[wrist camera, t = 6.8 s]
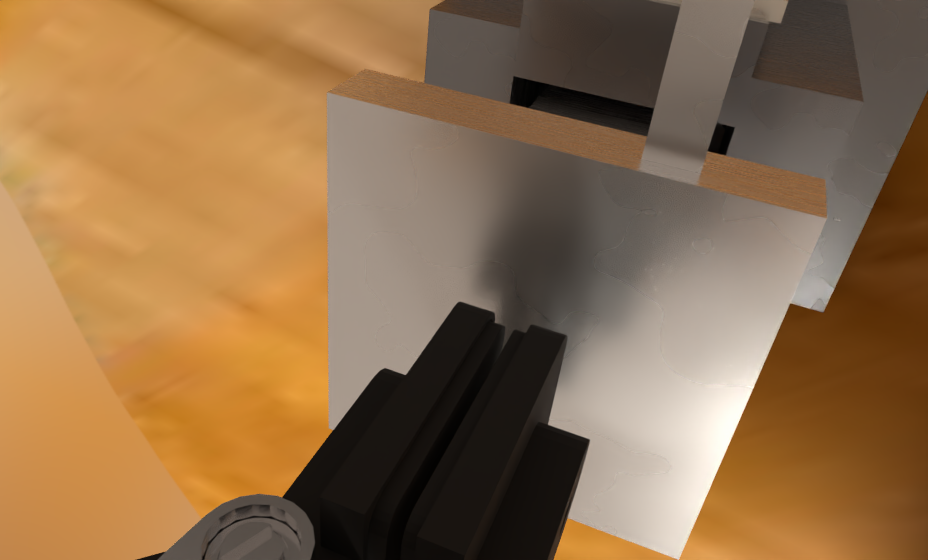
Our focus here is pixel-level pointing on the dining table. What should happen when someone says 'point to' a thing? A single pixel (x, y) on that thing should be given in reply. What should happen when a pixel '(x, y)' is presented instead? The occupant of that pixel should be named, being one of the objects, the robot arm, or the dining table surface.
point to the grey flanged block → (576, 258)
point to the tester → (748, 93)
